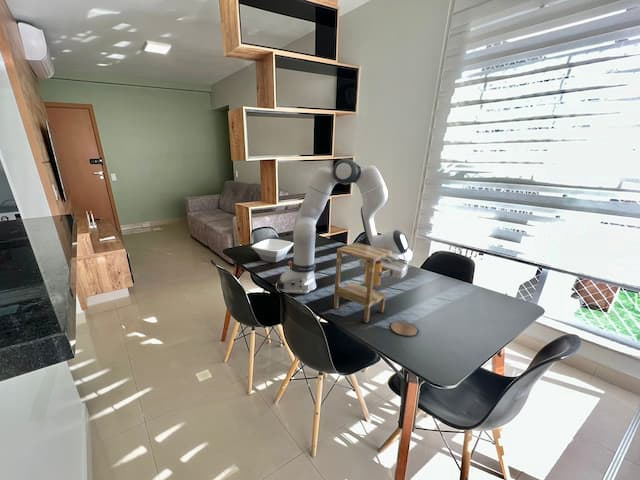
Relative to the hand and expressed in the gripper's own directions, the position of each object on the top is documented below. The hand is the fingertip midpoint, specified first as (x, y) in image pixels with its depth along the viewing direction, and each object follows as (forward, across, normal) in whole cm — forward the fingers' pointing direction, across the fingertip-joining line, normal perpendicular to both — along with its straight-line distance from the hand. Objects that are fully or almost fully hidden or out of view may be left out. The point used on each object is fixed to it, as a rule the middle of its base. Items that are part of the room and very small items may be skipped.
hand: (372, 271), depth 122 cm
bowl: (-19, -88, +21) cm, 93 cm away
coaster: (-1, +16, +21) cm, 27 cm away
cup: (-1, 0, +6) cm, 6 cm away
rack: (-1, -6, +21) cm, 22 cm away
